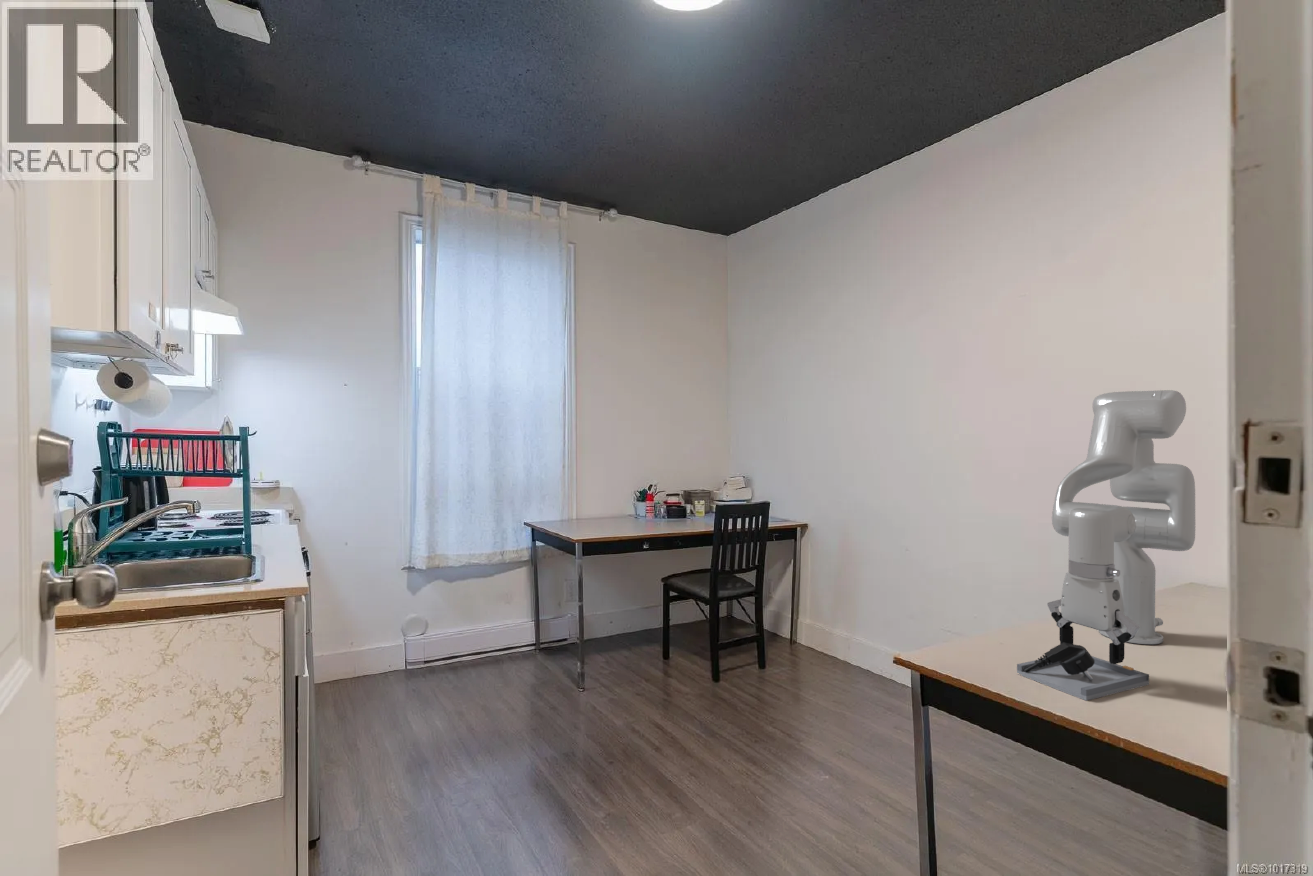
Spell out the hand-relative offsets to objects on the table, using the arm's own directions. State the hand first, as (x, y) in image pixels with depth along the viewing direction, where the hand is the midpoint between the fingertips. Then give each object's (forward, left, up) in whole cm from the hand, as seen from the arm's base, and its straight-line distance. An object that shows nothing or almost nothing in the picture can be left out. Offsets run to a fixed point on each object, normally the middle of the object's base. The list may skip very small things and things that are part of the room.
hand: (1090, 654), depth 126 cm
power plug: (+6, -3, -5) cm, 8 cm away
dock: (+2, -1, -5) cm, 5 cm away
